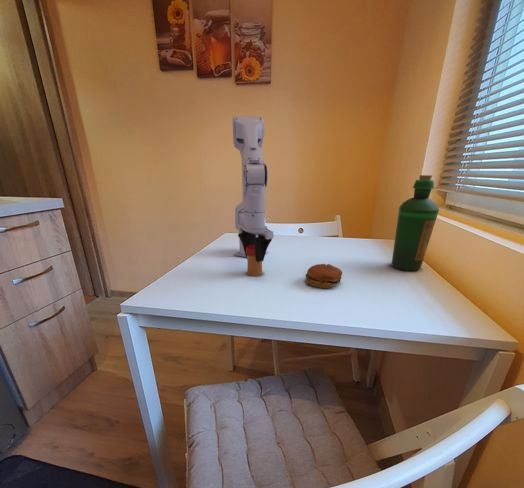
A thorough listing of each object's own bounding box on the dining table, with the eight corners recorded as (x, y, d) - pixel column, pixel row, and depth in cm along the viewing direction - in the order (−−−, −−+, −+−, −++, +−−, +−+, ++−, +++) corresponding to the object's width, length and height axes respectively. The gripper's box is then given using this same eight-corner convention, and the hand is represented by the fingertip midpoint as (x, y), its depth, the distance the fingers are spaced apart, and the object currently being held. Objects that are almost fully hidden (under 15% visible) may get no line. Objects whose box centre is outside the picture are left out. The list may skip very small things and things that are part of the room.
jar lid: (247, 256, 79) (247, 249, 78) (244, 251, 83) (244, 245, 82) (265, 255, 80) (265, 248, 79) (261, 250, 84) (261, 244, 84)
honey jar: (250, 270, 86) (250, 246, 83) (263, 272, 85) (264, 247, 82) (245, 275, 83) (245, 250, 80) (259, 276, 81) (259, 251, 78)
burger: (309, 289, 73) (310, 272, 72) (302, 276, 82) (304, 261, 80) (346, 289, 74) (348, 272, 72) (335, 276, 82) (337, 261, 81)
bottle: (430, 273, 86) (456, 176, 75) (395, 272, 86) (416, 175, 75) (414, 262, 96) (434, 175, 85) (382, 261, 96) (399, 174, 85)
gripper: (282, 213, 74) (280, 262, 79) (251, 207, 84) (251, 251, 90) (261, 215, 70) (261, 267, 75) (231, 209, 80) (232, 254, 86)
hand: (254, 258), depth 82 cm, fingers closed on jar lid, 5 cm apart
